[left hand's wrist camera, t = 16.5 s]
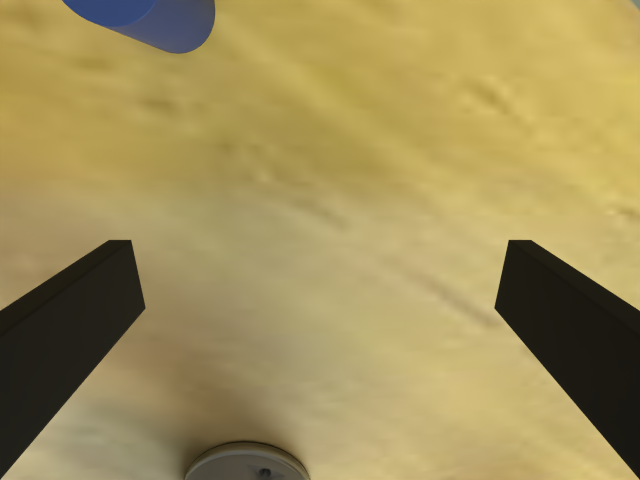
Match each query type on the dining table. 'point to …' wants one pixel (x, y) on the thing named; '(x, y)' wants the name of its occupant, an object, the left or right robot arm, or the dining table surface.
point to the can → (153, 20)
